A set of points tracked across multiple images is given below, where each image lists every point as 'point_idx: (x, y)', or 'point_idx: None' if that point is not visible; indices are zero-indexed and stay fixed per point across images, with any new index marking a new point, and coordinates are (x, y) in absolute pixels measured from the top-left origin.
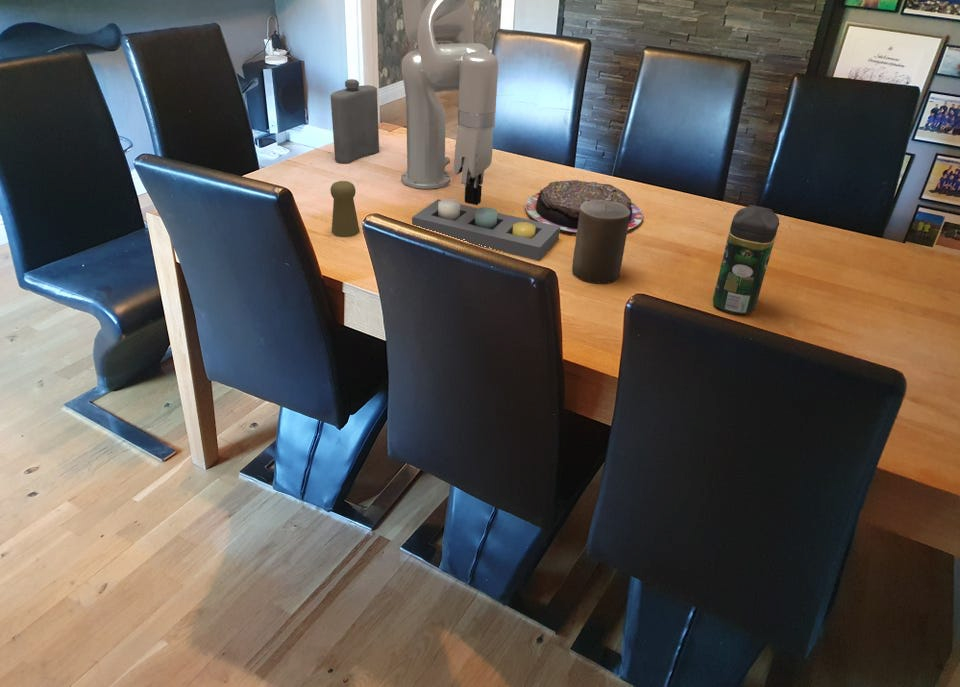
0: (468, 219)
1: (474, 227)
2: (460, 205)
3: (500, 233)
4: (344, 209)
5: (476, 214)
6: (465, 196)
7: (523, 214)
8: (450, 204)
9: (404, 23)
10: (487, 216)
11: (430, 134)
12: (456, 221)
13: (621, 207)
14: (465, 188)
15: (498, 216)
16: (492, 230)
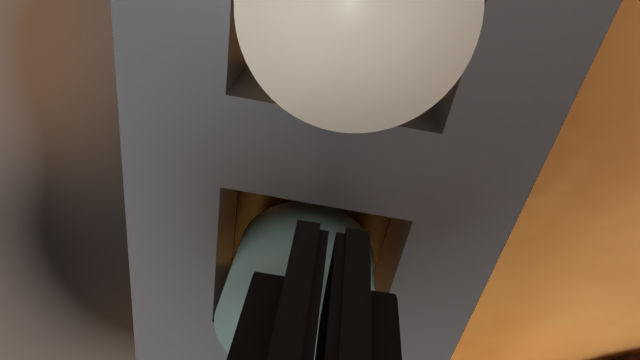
0: (295, 177)
1: (189, 237)
2: (572, 46)
3: (189, 356)
4: None
5: (234, 280)
6: (290, 263)
7: (633, 336)
8: (323, 45)
9: None
10: (225, 344)
11: None
12: (220, 108)
13: None
14: (274, 337)
15: (411, 321)
16: (203, 322)
